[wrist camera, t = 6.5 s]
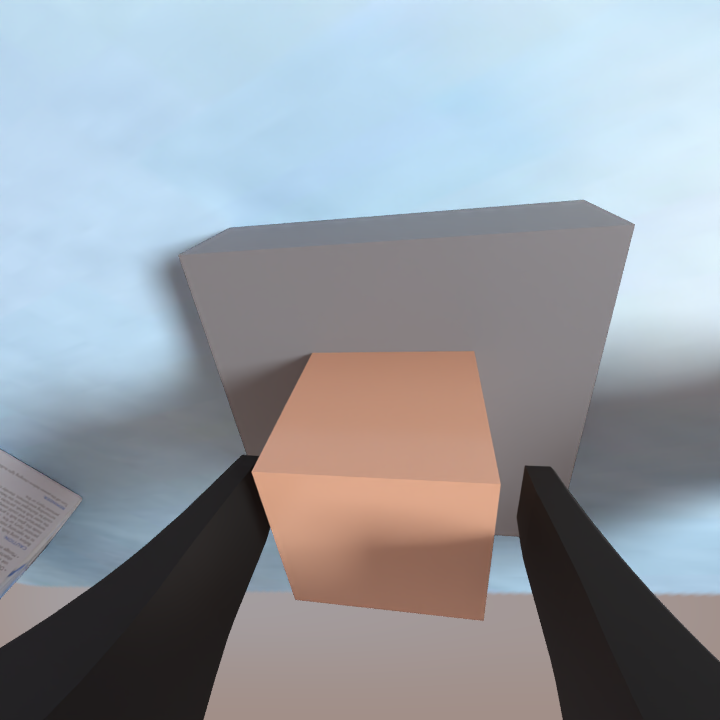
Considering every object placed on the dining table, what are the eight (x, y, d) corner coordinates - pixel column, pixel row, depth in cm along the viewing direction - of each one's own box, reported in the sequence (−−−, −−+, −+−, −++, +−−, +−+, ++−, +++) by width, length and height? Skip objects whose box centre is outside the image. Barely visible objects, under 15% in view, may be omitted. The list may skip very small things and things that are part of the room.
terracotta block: (474, 351, 11) (500, 484, 7) (467, 470, 14) (483, 620, 10) (312, 352, 12) (251, 471, 8) (333, 464, 15) (295, 599, 11)
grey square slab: (578, 197, 12) (635, 224, 9) (532, 463, 19) (555, 539, 15) (235, 224, 15) (178, 255, 11) (294, 455, 21) (269, 519, 17)
